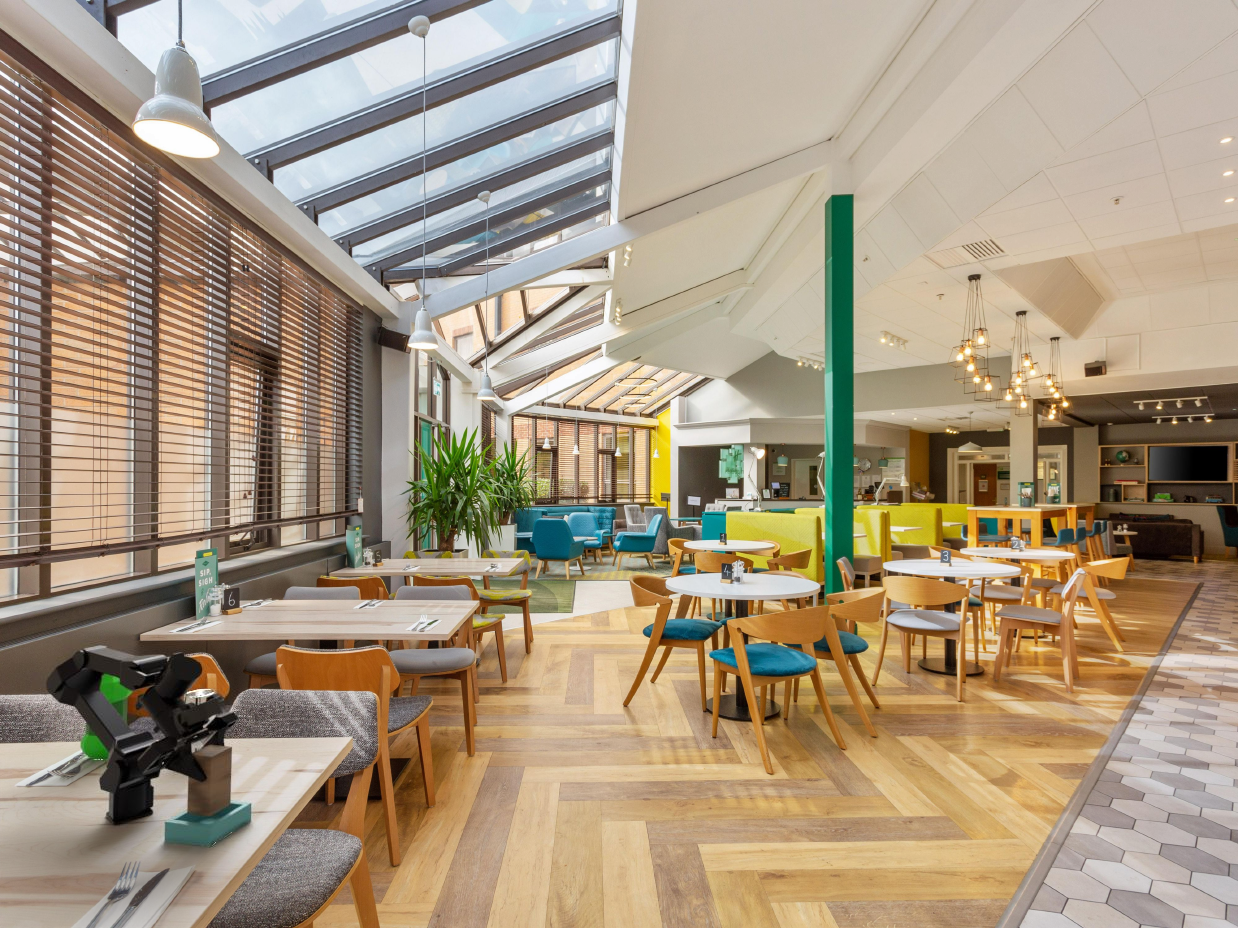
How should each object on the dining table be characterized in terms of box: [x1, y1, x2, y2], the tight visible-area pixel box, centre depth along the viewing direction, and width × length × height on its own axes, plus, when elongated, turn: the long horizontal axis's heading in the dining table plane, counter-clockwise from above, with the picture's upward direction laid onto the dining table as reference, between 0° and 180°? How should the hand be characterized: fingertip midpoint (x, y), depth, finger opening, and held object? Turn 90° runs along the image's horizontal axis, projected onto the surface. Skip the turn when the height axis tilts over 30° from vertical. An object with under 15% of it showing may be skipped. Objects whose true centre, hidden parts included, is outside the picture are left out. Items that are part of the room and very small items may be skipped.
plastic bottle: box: [80, 674, 134, 760], centre depth 165 cm, size 10×10×25 cm
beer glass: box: [183, 688, 216, 753], centre depth 166 cm, size 7×7×15 cm
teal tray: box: [163, 799, 252, 847], centre depth 129 cm, size 10×10×4 cm
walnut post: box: [186, 745, 233, 817], centre depth 129 cm, size 5×5×11 cm
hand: (216, 774), depth 129 cm, fingers closed on walnut post, 5 cm apart
